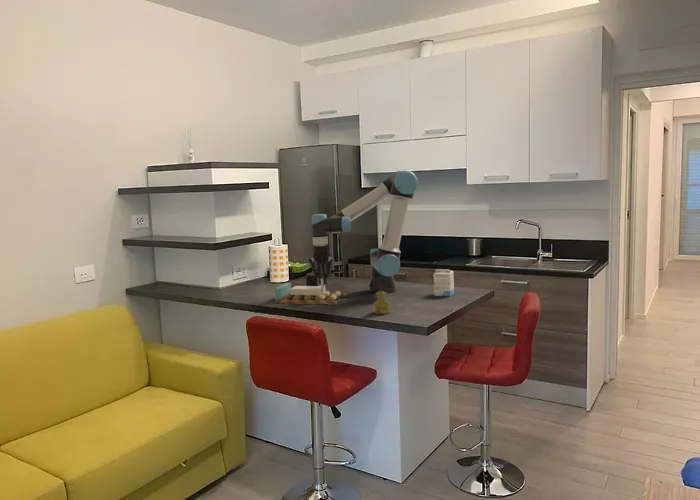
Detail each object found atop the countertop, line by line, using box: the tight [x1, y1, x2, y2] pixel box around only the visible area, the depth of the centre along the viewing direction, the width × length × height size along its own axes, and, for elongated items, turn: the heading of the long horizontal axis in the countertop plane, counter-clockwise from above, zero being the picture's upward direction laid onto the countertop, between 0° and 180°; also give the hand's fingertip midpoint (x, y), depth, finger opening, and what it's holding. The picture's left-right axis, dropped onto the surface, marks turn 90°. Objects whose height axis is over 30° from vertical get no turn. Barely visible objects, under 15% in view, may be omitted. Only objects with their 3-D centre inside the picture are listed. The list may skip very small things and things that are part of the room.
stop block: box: [274, 282, 292, 300], centre depth 287 cm, size 3×14×7 cm, turn 163°
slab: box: [290, 285, 326, 295], centre depth 283 cm, size 16×8×3 cm, turn 74°
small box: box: [305, 271, 321, 286], centre depth 301 cm, size 11×6×10 cm, turn 168°
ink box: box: [432, 268, 455, 297], centre depth 282 cm, size 9×8×13 cm
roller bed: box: [274, 290, 348, 306], centre depth 283 cm, size 32×19×3 cm, turn 73°
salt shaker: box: [372, 291, 391, 315], centre depth 250 cm, size 7×7×10 cm
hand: (323, 291), depth 281 cm, fingers closed
